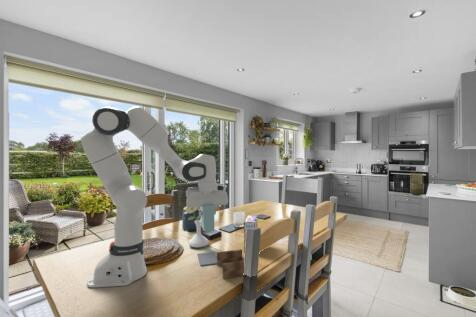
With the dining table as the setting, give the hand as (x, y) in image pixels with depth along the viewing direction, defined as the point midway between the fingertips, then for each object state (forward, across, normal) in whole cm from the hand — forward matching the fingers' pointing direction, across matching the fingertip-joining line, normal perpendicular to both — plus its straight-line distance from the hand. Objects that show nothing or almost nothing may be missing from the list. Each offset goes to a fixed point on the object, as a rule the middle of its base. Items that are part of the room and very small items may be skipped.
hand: (207, 214), depth 118 cm
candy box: (+22, +25, +7) cm, 34 cm away
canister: (+22, -3, +52) cm, 57 cm away
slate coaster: (+22, 0, 0) cm, 22 cm away
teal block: (+7, 0, 0) cm, 7 cm away
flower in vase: (+22, -3, +19) cm, 29 cm away
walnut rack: (+22, +9, -14) cm, 28 cm away
